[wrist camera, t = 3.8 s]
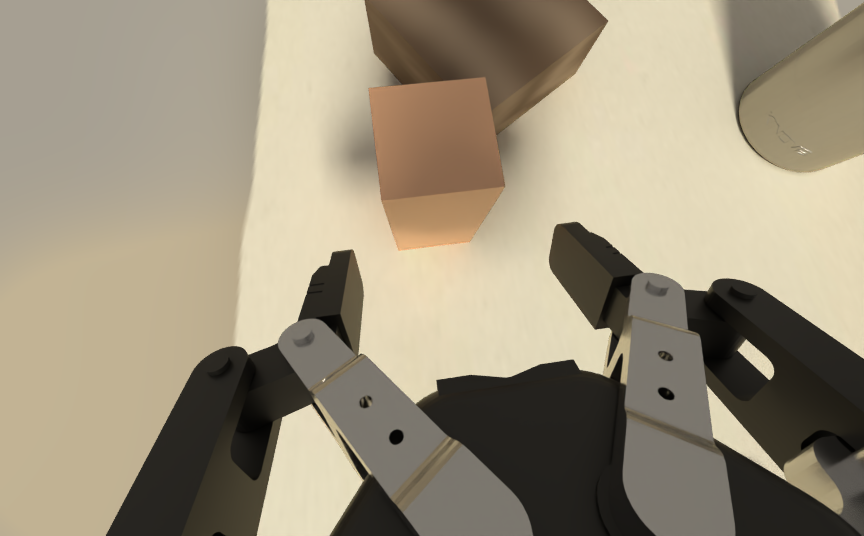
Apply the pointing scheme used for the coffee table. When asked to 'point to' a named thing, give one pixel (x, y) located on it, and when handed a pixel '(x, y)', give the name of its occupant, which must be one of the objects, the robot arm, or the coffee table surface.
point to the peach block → (436, 160)
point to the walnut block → (486, 45)
